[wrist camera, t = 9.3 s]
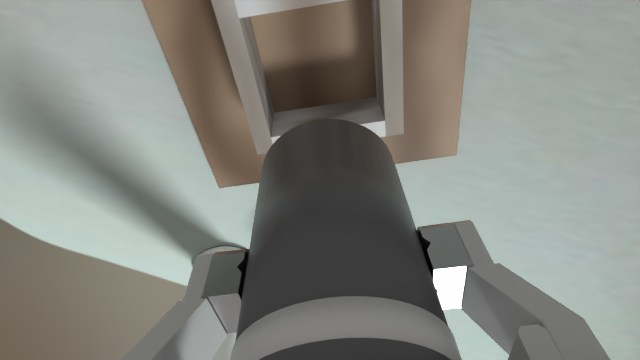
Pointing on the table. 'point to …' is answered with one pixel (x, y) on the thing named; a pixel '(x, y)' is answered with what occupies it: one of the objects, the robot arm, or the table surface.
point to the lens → (337, 256)
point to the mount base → (315, 72)
